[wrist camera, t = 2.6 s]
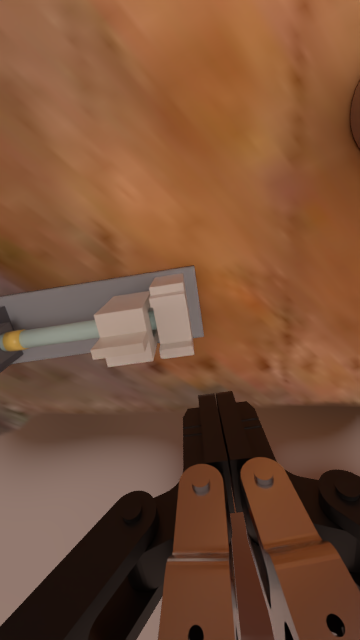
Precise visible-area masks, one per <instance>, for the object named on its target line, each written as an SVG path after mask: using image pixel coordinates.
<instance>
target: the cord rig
mask: <svg viewBox="0 0 360 640" xmlns="http://www.w3.org/2000/svg"><path fill="white" fill-rule="evenodd" d="M145 291H150V297H149V303H150V307H151V308H153V311H150V312H148V313H149V318H150V322H151V327H152V330H155V329H157V331H158V336H159V338H158V343H160V349H159V352H160V357H161V358H163V359H167V358H174V357H182V356H189V355H194V345H193V338H197V337H204V333H203V326H202V319H201V312H200V305H199V298H198V290H197V283H196V276H195V269H194V265H193V266H187V267H181V268H174V269H168V270H162V271H156V272H149V273H143V274H137V275H131V276H124V277H118V278H112V279H106V280H99V281H93V282H87V283H81V284H74V285H68V286H62V287H55V288H49V289H43V290H37V291H30V292H24V293H18V294H12V295H5V296H0V372H2V371H3V370H4V369H5V368H7V367H8V366H9V365H11V364H15V363H22V362H29V361H36V360H43V359H50V358H57V357H64V356H71V355H78V354H85V353H91V351H90V350H91V349H92V347H93V346H94V345H95V344H96V342H97V341H98V340H99V338H100V336H99V333H98V329H97V326H96V322H95V318H94V314H96V313H97V312H98V311H99V310H100V309H101V308H102V307H103V306H104V305H105V304H106V303H107V302H108V301H109V300H110V299H111V298H112V297H113V296H119V295H126V294H132V293H139V292H145Z"/></svg>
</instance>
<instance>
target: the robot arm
mask: <svg viewBox="0 0 360 640" xmlns="http://www.w3.org/2000/svg"><path fill="white" fill-rule="evenodd" d="M350 116H351V129H352V133H353V136H354V139H355V141H356V143H357V145H358V147H359V148H360V81H359V83H358V85H357V87H356V90H355V94H354V97H353V100H352V106H351V114H350ZM198 399H199V408H191V409H187V411H186V413H185V416H184V417H183V436H184V437H183V450H184V451H183V452H184V453H183V454H184V455H183V460H184V469H183V474H182V476H181V478H180V481H179V483H178V484H177V485H176V486H175V487H174V488H172V489H171V490H170V491H168V492H166V493H164V494H162V495H159V496H157V497H155V498H153V497H152V496H151V495H150V494H149V493H147V492H144V491H133V492H130V493H128V494H126V495H124V496H123V497H121V498H120V499H119V500H118V501H117V502H116V503H115V505H113V507H112V508H111V509H110V510H109V511H108V512H107V513H106V514H105V515H104V516H103V517H102V518H101V520H99V521H98V523H97V524H96V525H95V526H94V527H93V528H92V529H91V530H90V531H89V532H88V533H87V534H86V536H84V538H83V539H82V540H81V541H80V542H79V543H78V544H77V545H76V546H75V547H74V548H73V549H72V550H71V552H70V553H69V554H68V555H67V556H66V557H65V558H64V559H63V560H62V561H61V562H60V563H59V564H58V565H57V567H55V569H54V570H53V571H52V572H51V573H50V574H49V575H48V576H47V577H46V578H45V579H44V580H43V581H42V583H41V584H40V585H39V586H38V587H37V588H36V589H35V590H34V591H33V592H32V593H31V594H30V595H29V596H28V597H27V599H26V600H25V601H24V602H23V603H22V604H21V605H20V606H19V607H18V608H17V609H16V610H15V612H13V613H12V615H11V616H10V617H9V618H8V619H7V620H6V621H5V622H4V623H3V624H2V625H1V626H0V640H136V639H137V638H138V636H139V634H140V633H141V631H142V629H143V627H144V626H145V624H146V623H147V621H148V619H149V618H150V616H151V614H152V613H153V611H154V609H155V607H156V606H157V604H158V603H159V601H160V599H161V597H162V605H161V615H160V624H159V633H158V640H241V634H240V625H239V616H238V606H237V595H236V584H235V573H234V563H233V552H232V541H231V538H232V527H231V519H230V513H235V512H234V505H233V497H234V502H235V507H236V512H243V513H244V518H245V523H246V529H247V537H248V541H249V545H250V549H251V552H252V556H253V559H254V563H255V566H256V570H257V573H258V577H259V580H260V584H261V587H262V591H263V594H264V598H265V602H266V605H267V608H268V612H269V616H270V620H271V625H272V629H273V634H274V639H275V640H360V477H359V476H357V475H355V474H353V473H351V472H348V471H344V470H330V471H327V472H325V473H324V474H323V475H321V477H320V479H319V480H314V479H309V478H304V477H299V476H296V475H293V474H291V473H289V472H288V471H286V470H285V469H284V468H283V467H282V466H281V465H280V464H279V463H278V462H277V461H276V459H275V457H274V455H273V452H272V450H271V448H270V445H269V442H268V440H267V438H266V435H265V433H264V430H263V428H262V426H261V423H260V421H259V419H258V416H257V413H256V411H255V409H254V408H253V407H252V406H251V405H250V404H249V403H248V402H247V401H245V402H237V403H236V402H235V398H234V395H233V392H232V391H228V392H221V393H216V399H215V394H206V395H198ZM216 401H217V404H216ZM231 487H232V489H231ZM232 492H233V497H232Z"/></svg>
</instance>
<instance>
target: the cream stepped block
mask: <svg viewBox="0 0 360 640" xmlns="http://www.w3.org/2000/svg"><path fill="white" fill-rule="evenodd" d="M149 297H150V291H145V292H139V293H132V294H126V295H119V296H113V297H112V298H111V299H110V300H109V301H108V302H107V303H106V304H105V305H104V306H103V307H102V308H101V309H100V310H99V311H98V312H97V313H96V314H94V318H95V322H96V326H97V329H98V333H99V336H100V338H99V340H98V341H97V342H96V344H95V345H94V346H93V347H92V349H91V350H90V351H91V354H92V358H93V360H95V359H102V358H106V361H107V365H108V367H113V366H120V365H128V364H135V363H142V362H149V361H153V360H154V356H155V351H156V347H157V343H158V338H159V336H158V331H157V329H155V330H152V327H151V322H150V318H149V313H148V312H150V311H153V308H151V307H150V303H149Z"/></svg>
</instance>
